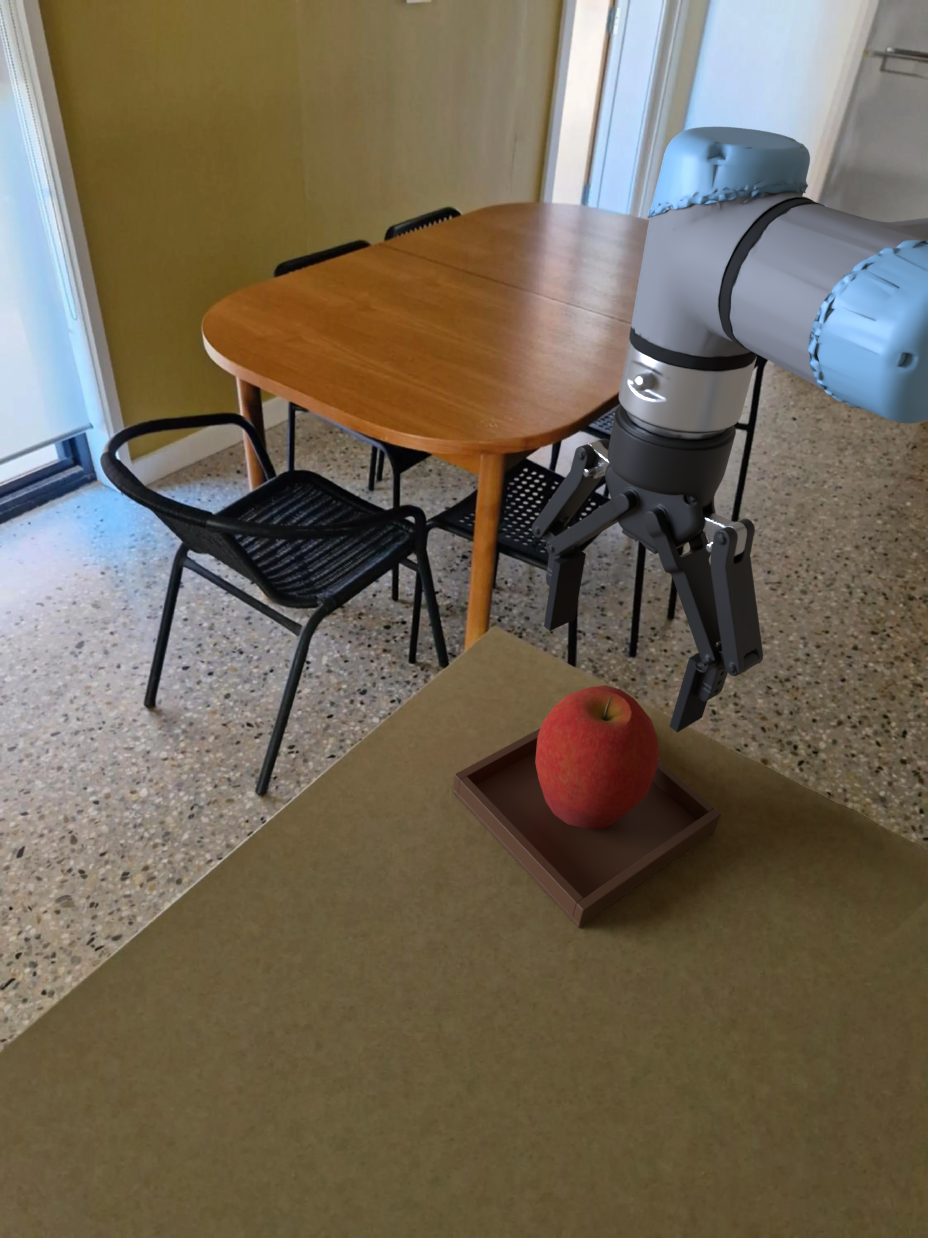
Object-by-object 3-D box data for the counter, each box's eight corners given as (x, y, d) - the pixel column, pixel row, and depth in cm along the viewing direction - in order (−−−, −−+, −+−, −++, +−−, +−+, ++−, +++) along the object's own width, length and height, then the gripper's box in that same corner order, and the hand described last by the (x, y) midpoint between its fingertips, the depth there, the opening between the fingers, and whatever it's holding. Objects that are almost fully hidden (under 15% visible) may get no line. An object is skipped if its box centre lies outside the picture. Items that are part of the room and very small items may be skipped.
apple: (543, 752, 84) (563, 640, 75) (648, 783, 82) (682, 671, 73) (513, 835, 76) (531, 721, 67) (628, 872, 74) (662, 759, 65)
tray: (714, 831, 78) (722, 813, 77) (578, 928, 70) (583, 910, 68) (585, 719, 88) (589, 701, 87) (452, 792, 80) (454, 774, 78)
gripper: (502, 355, 60) (479, 602, 74) (810, 522, 46) (712, 795, 59) (582, 335, 64) (547, 574, 77) (890, 484, 49) (782, 748, 62)
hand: (618, 670), depth 68 cm, fingers open, 13 cm apart
